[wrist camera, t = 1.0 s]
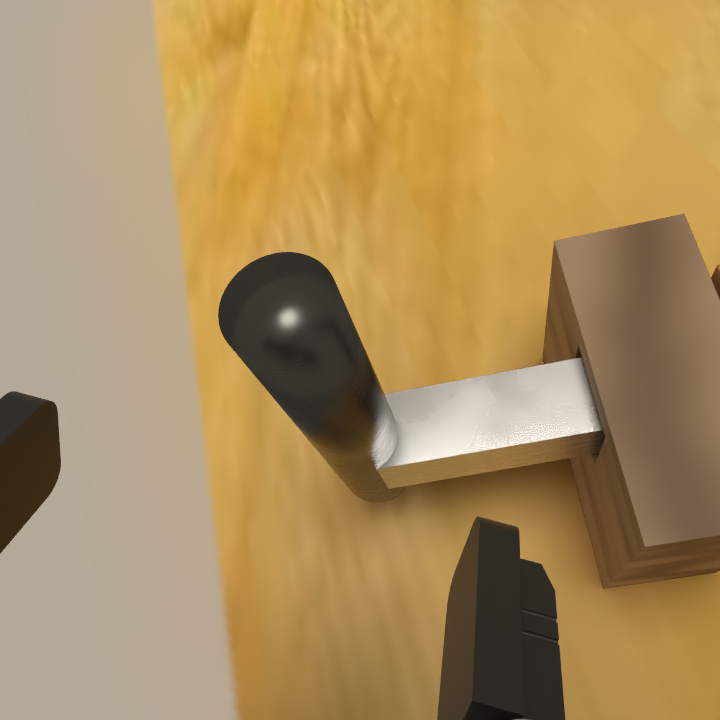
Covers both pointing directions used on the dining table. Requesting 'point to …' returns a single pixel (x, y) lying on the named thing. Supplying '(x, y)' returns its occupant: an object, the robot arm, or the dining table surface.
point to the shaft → (400, 409)
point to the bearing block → (644, 395)
